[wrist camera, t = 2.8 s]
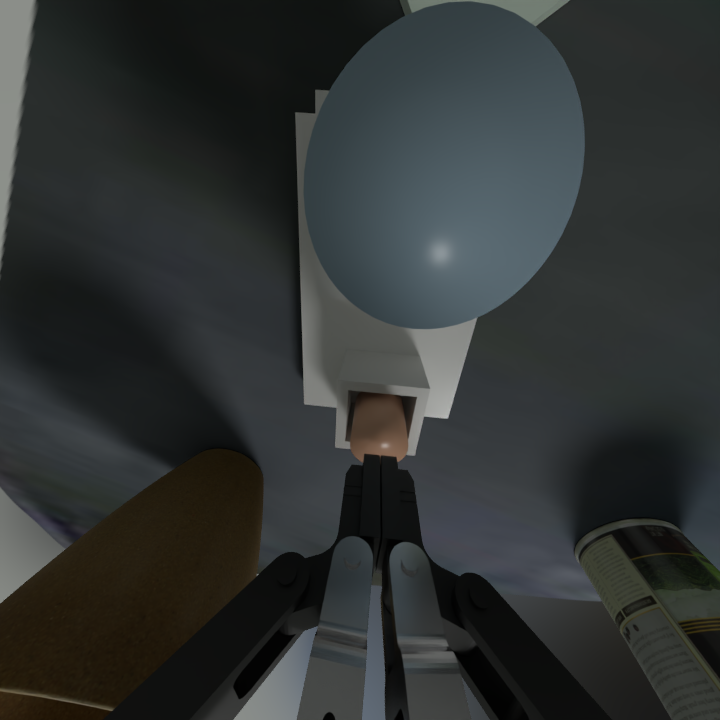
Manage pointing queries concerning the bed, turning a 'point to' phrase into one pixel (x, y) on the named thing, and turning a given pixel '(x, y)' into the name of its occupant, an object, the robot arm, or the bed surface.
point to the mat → (530, 3)
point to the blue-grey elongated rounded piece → (444, 165)
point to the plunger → (379, 426)
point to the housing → (367, 340)
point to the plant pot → (131, 591)
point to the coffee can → (661, 608)
